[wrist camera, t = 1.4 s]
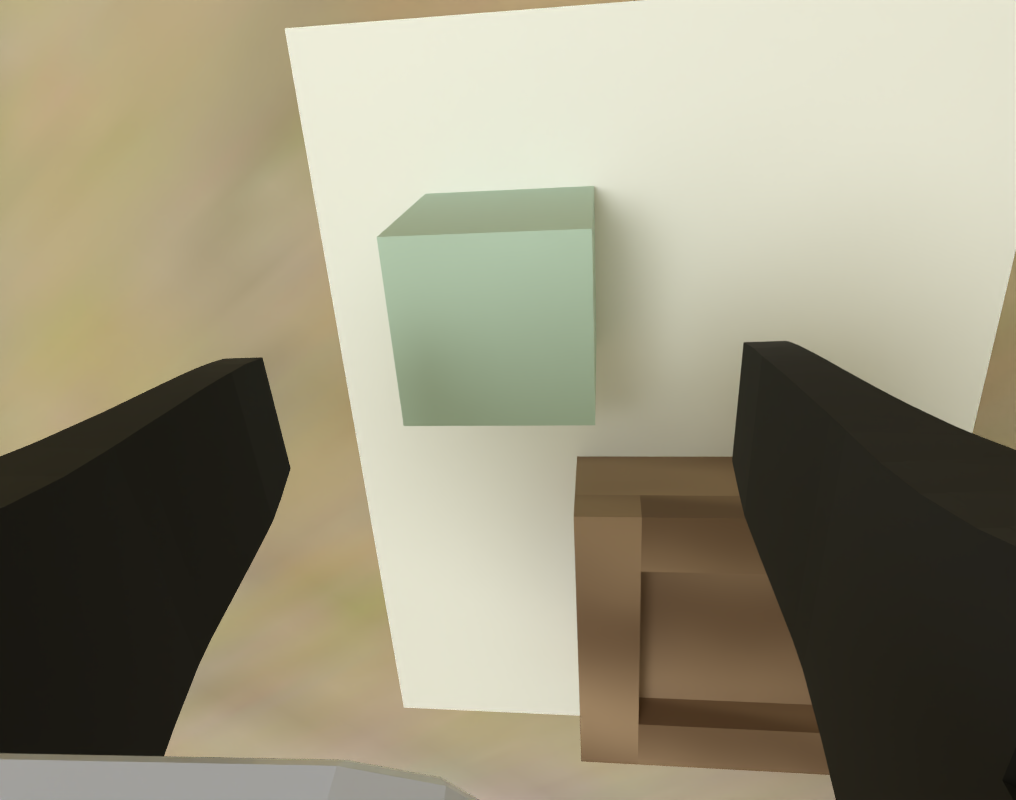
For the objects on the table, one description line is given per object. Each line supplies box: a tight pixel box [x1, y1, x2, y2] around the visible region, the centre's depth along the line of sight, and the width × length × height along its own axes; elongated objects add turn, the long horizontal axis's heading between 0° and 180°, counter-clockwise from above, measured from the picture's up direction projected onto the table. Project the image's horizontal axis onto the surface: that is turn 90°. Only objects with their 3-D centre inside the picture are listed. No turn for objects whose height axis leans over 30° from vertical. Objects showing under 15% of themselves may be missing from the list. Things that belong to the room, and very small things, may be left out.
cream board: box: [285, 0, 1016, 716], centre depth 21 cm, size 22×17×1 cm
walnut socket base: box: [574, 456, 830, 775], centre depth 21 cm, size 9×9×3 cm
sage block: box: [377, 186, 596, 426], centre depth 17 cm, size 4×4×4 cm
